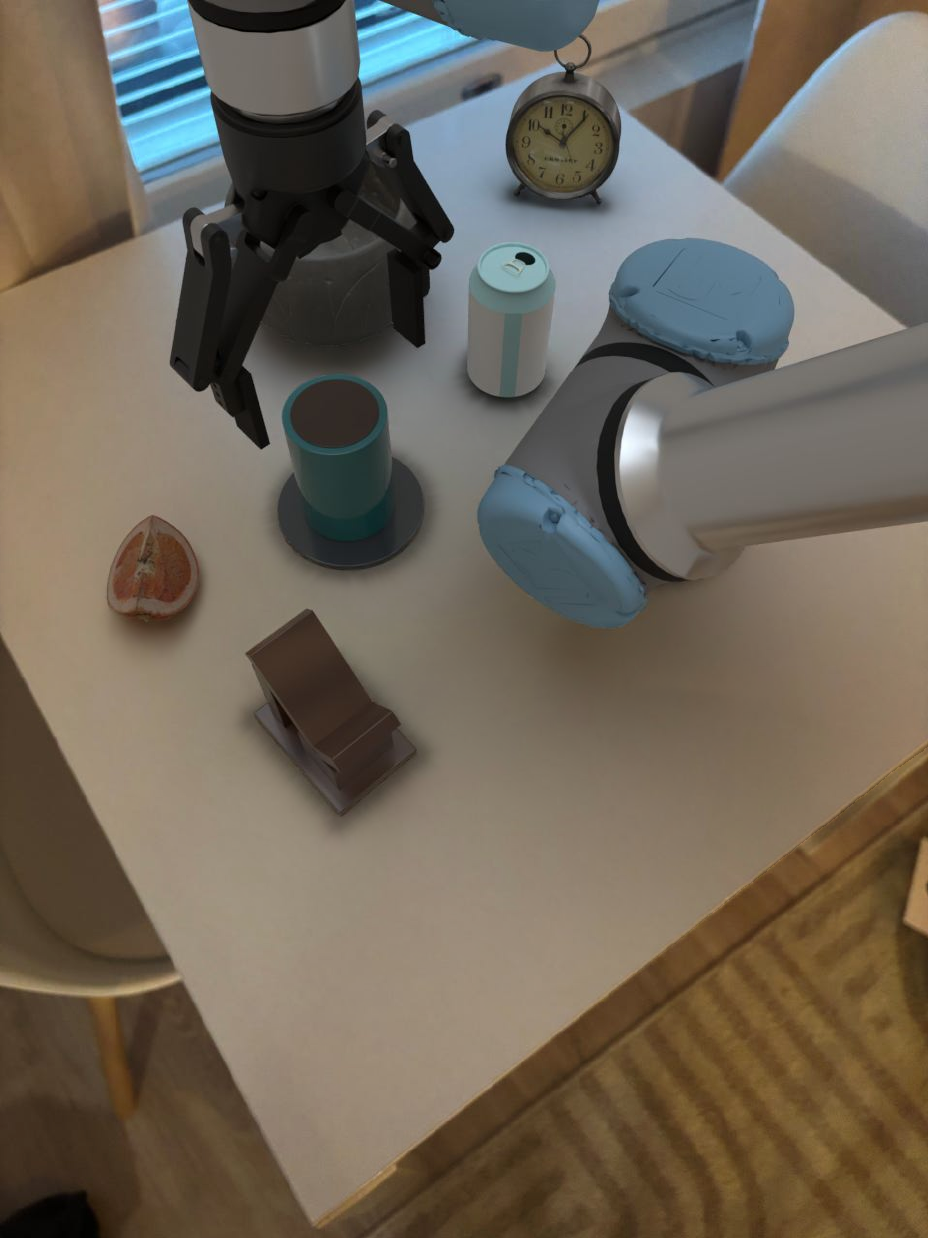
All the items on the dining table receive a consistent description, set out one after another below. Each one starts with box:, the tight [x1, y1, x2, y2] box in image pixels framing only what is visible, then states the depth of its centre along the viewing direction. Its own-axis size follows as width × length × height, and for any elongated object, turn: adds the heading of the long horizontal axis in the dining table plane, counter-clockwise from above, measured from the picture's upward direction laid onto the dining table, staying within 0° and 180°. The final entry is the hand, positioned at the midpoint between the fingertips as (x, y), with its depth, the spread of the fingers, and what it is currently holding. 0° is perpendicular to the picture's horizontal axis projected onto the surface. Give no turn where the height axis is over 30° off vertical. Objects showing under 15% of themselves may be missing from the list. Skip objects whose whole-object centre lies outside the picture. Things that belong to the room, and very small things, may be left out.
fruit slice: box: [106, 514, 200, 623], centre depth 72 cm, size 8×7×5 cm
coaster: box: [276, 455, 425, 571], centre depth 78 cm, size 12×12×1 cm
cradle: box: [244, 608, 417, 817], centre depth 64 cm, size 10×7×11 cm
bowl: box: [223, 160, 417, 347], centre depth 83 cm, size 18×18×13 cm
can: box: [466, 241, 557, 398], centre depth 80 cm, size 7×7×12 cm
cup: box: [281, 373, 395, 542], centre depth 73 cm, size 13×8×13 cm
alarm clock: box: [504, 33, 622, 206], centre depth 90 cm, size 11×5×16 cm, turn 80°
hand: (334, 384), depth 65 cm, fingers open, 13 cm apart
